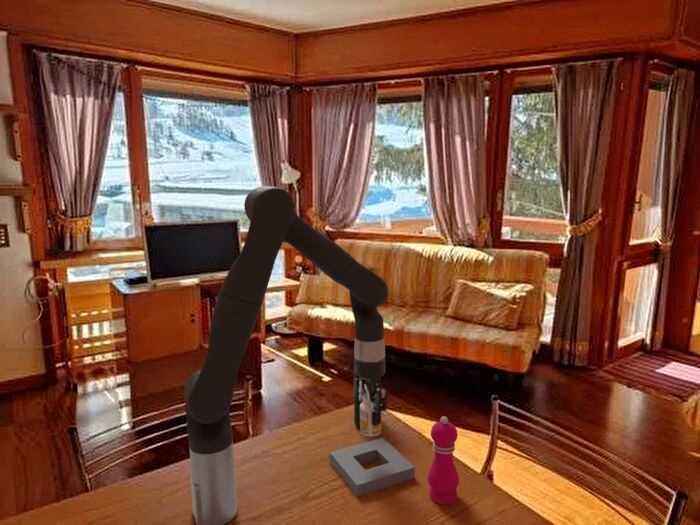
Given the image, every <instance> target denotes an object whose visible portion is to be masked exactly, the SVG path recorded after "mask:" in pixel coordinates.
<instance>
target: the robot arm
mask: <svg viewBox="0 0 700 525" xmlns="http://www.w3.org/2000/svg"><path fill="white" fill-rule="evenodd" d="M243 206H244V212H245V215H246V217H247V219H248V220H249V221H250V222H249V226H248V230H247V233H246V237H245V241H244V244H243V247H242V249H241V250H240V253H239V255H238V256H237V258H236V259H235V261H234V263H233V265H231V268H230V269H229V270H228V272H227V274H226V276H225V277H224V279H223V282H222V284H221V286H220V289H219V292H218V295H217V298H216V301H215V303H214V304H215V305H214V308H213V312H212V316H211V317H212V318H211V322H210V324H211V325H210V330H209V335H208V336H209V338H208V343H207V344H208V345H207V352H206V356H205V358H204V362H203V364H202V367H201V369H198V370H196V371H195V372H193V373H192V374H191V375H190V377H189V378H188V379H187V381H186V383H185V387H184V404H185V413H186V414H185V416H186V428H187V438H188V447H189V448H188V449H189V460H190V461H189V462H190V475H189V478H190V480H189V482H190V490H191V491H190V493H191V502H192V503H191V505H192V514H193V518H194V520H195V524H196V525H225V524H228V523H229V522H231V521H232V520H233V519H234V517H235V516H236V515H237V513H238V512H237V511H238V507H237V506H238V502H237V500H238V499H237V487H236V486H237V485H236V474H235V473H236V470H235V458H234V455H235V454H234V442H233V441H234V440H233V436H234V435H233V426H232V421H231V415H230V414H231V413H230V407H231V406H232V402H233V398H234V392H235V388H236V384H237V379H238V373H239V369H240V367H241V363H242V360H243V357H244V355H245V352H246V350H247V347H248V345H249V342H250V339H251V336H252V333H253V331H254V328H255V325H256V323H257V320H258V317H259V315H260V312H261V308H262V305H263V302H264V299H265V295H266V292H267V289H268V286H269V283H270V279H271V276H272V273H273V270H274V266H275V263H276V259H277V256H278V254H279V252H280V250H281V247H282V245H283V242H286V243H287V244H288V245H289V246H291V247H292V248H294V249H295V250H296V251H298V252H299V253H300V254H301V255H302V256H304V257H305V258H306V259H307V260H308V261H310V263H312V264H313V265H314V266H315V267H316V268H318V269H319V270H320V271H321V272H322V273H324V274H325V275H326V276H328V278H330V279H331V280H332V281H334V282H335V283H337V284H339V285H340V286H343V287H344V288H346V289H348V292H349V293H348V294H349V300H350V301H349V302H350V306H351V310H352V315H353V318H354V346H353V348H354V349H353V352H354V353H353V354H354V357H353V358H354V359H353V360H354V368H355V373H354V372H353V384H354V383H355V392H356V395H357V396H358V395H359V400H360V404H361V403H362V402H363V400H362V396H363V394H365V393H366V394H367V398H368V402H370V403H371V409H372V424H373V425H374V426H375V425H379V424H380V423H381V424H382V412H385V411H387V405H388V396H389V395H388V394H389V391H388V389H387V388H383V387H382V381H381V379H382V377H383V376H384V375H385V373H386V346H385V344H386V343H385V339H384V338H385V335H384V332H385V330H384V329H385V326H384V324H385V323H384V317H383V316H382V314H381V313H380V312H379V310H378V308H377V307H380V306H382V305H384V304H385V303H386V302H387V300H388V298H389V288H388V285H387V283H386V281H385V280H384V279H383V278H381V277H380V276H379V275H378V274H376V273H375V272H373V271H372V270H370V269H369V268H367V267H366V266H364V265H363V264H361V263H360V262H359V261H358V260H356V259H355V257H354V256H352V255H351V254H350V253H349V252H347V251H346V250H345V248H343V247H342V246H340V245H339V244H338V243H336V242H335V241H333V240H332V239H331V238H329V237H328V236H326V235H324V234H323V233H321V232H320V231H318V230H317V229H316V228H314V227H312V226H311V225H310V224H309V223H307V222H306V221H305V220H304V219H302V218H301V217H300V216H299V215H298V214H297V213H296V205H295V202H294V199H293V197H292V195H291V194H290V192H289V191H287V190H285V189H283V188H282V187H277V186H272V185H271V186H270V185H262V186H257V187H255V188H253V189H251V191H249V193H248V194H247V195H246V197H245V200H244V205H243ZM371 396H376V398H372V397H371ZM375 401H376V404H374V402H375Z"/></svg>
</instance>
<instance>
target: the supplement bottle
mask: <svg viewBox="0 0 700 525" xmlns="http://www.w3.org/2000/svg"><path fill="white" fill-rule="evenodd" d="M371 397H372V398H376V396H371ZM362 400H363V402H362V403H361V404H360V427H359V429H360V430H359V432H360V433H361V434H362V435H363V436H366V437H377V436H379V435H380V434H381V433H382V431H383V430H382V428H383V427H382V422H381V423H380V424H379V425H375V426H374V425H373V424H372V409H371V403H370V402H368V398H367V394H366V393H365V394H363V396H362ZM374 404H376V401H375V402H374Z"/></svg>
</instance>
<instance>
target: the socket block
mask: <svg viewBox="0 0 700 525" xmlns="http://www.w3.org/2000/svg"><path fill="white" fill-rule="evenodd" d="M373 461H376V462H378V463H379V464H380V465H378V466H375V467H371V468H368V469H365V468H364V466H362V465H364V464H367V463H370V462H373ZM329 463H330V464H331V466H332V467H333V469H334V470H335V471H336V472H337V474H339V476H340V477H341V478H342V480H343V481H344V482H345V483H346V485H347V486H348V487H349V489H350V490H351V491H352V492H353V494H354V495H355V496H356V497H357V498H358V497H360V496H363V495H364V496H365V495H367V494H370V493H373V492H376V491H380V490H383V489H385V488H388V487H391V486H395V485H397V484H400V483H405V482H407V481H410V480H411V481H412V480H413V479H415V478H416V473H415V472H416V467H415V466H414V465H413V464H412V463H411V462H410V461H409V460H408V459H406V458H405V456H404V455H402V454H401V452H399V451H398V450H397V449H396V448H395V447H393V445H392V444H391V443H389V441H387V440H386V439H385V438H384V437H381V438H377V439H372V440H369V441H366V442H362V443H358V444H355V445H351V446H347V447H344V448H340V449H336V450H332V451H330V452H329Z"/></svg>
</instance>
